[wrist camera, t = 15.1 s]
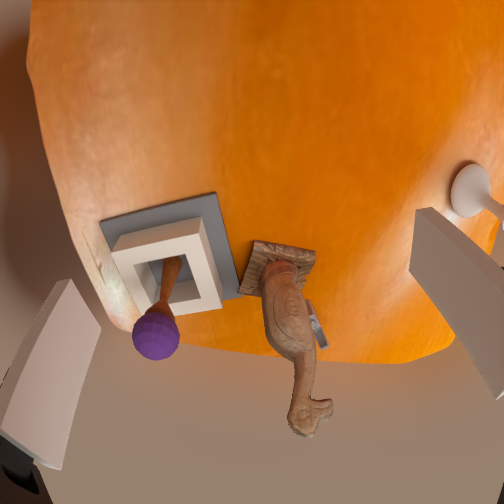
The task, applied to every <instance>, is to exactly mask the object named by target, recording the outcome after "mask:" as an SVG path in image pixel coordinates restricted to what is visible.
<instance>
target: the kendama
mask: <svg viewBox="0 0 504 504" xmlns="http://www.w3.org/2000/svg"><path fill="white" fill-rule="evenodd" d="M182 264H183V262H182V259H181V258H180V257H179V256H178V255H177V256H172V257H167V258H164V260H163V268H162V278H161V290H160V300H159V301H158V302H156V303H155V304H154V305H152V306H151V307H150V308H148V309H147V310H146V312H145V314H144V315H143V316H142V317H141V318H139V319H138V321H137V322H136V323H135V324H134V328H133V331H132V339H133V343H134V346H135V348H136V350H137V351H139V352H140V353H141V354H142V355H143V356H144V357H146V358H148V359H151V360H162V359H165V358H168V357H170V356H171V355H172V354H173V353H174V352H175V350H176V349H177V348H178V344H179V338H180V334H179V331H178V328H177V326H176V323H175V317H174V315H173V313H172V311H171V309H170V307H169V304H168V302H167V301H168V299H169V296H170V294H171V291H172V289H173V286H174V284H175V282H176V279H177V277H178V274H179V272H180V269H181V267H182Z"/></svg>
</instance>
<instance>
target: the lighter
mask: <svg viewBox="0 0 504 504" xmlns="http://www.w3.org/2000/svg"><path fill="white" fill-rule="evenodd" d="M305 303H306V306H307V310H308V314H309V318H310V322H311V326H312V329H313V332H314V335H315V337H316V340H317V342H318V345H319V347H320V349H322V350H323V349H325V348H327V347H329V344H328V341H327V339H326V336H325V334H324V331H323V329H322V328H321V327H320V323H319V320H318V317H317V314H316V311H315V310H314V308H313V306H312V304H311V303H310V301H309V300H306V301H305Z"/></svg>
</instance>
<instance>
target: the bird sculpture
mask: <svg viewBox="0 0 504 504" xmlns="http://www.w3.org/2000/svg"><path fill="white" fill-rule="evenodd" d="M315 256H316V254H315V252H314V251H310V250H309V251H308V250H307V249H302V248H296V247H292V246H287V245H282V244H276V243H271V242H265V241H259V240H254V247H253V251H252V255H251V257H250V261H249V264H248V267H247V268H246V271H245V274H244V278H243V280H244V281H242V283H241V285H242V286H240V288H239V290H238V292H237V294H243V295H250V296H257V297H261V298H262V309H263V318H264V326H265V334H266V337H267V340H268V342H269V344H270V345H271V346H272V347H273V348H274V349H275V350H276V351H277V352H278V353H279V354H281V355H282V356H283V357H285V358H287V359H288V360H290V361H292V362H293V363H294V369H295V376H294V378H295V382H294V388H293V394H292V400H291V405H290V409H289V412H288V415H287V420H288V423H289V426H290V428H291V429H292V430H293V431H294V433H296V434H297V435H299V436H301V437H303V438H307V439H309V438H313V436H314V434H315V430H316V429H317V428H318V427H319V426H320V425H321V424H322V423H324V422H326V421H327V420H328V419H330V417H331V416H332V412H333V403H332V399H323V400H314V399H311V392H312V388H313V383H314V377H315V371H316V343H315V337H314V333H313V329H312V326H311V322H310V318H309V314H308V310H307V306H306V303H305V300H304V297H303V295H302V292H301V290H302V288H303V286H304V283H305V282H306V279H305V278H304V277H305V276H304V275H306V274H307V275H306V276H308V274H309V272H310V271H311V269H312V266H313V265H314V263H315V260H316V257H315ZM267 258H268V259H270V261H269V262H268V259H267ZM277 258H278V260H277V261H276V259H277ZM288 259H289V260H290V262H289V261H288ZM292 261H293V262H292ZM307 265H308V266H307ZM253 267H254V268H253ZM256 267H257V268H260V270H259V269H256ZM264 267H265V268H264ZM297 267H298V270H297ZM300 269H301V270H300ZM257 271H258V272H257ZM256 272H257V273H256ZM261 274H262V275H261ZM299 274H300V276H299ZM259 275H260V276H259ZM300 277H302V279H304V280H303V281H301V280H302V279H300ZM258 278H259V280H260V281H259V280H257V279H258ZM298 278H299V279H298ZM298 282H299V283H298ZM301 282H303V283H301ZM256 283H257V285H256ZM300 283H301V284H302V287H301V284H300ZM243 284H244V285H243ZM254 284H255V285H254ZM244 286H245V287H244Z"/></svg>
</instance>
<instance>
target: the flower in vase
mask: <svg viewBox="0 0 504 504" xmlns="http://www.w3.org/2000/svg"><path fill="white" fill-rule="evenodd" d="M490 189H491V187H490V179H489V176H488V174H487V172H486V171H485V169H484V168H483V167H482V166H481V165H479V164H470V165H468V166H466V167H464V168H463V169H462V170H461V171H460V172H459V173H458V174H457V176H456V178H455V180H454V182H453V185H452V189H451V203H452V207H453V210H454V212H455V213H456V214H457V215H458V216H460V217H465V218H469V217H473V216H475V215H477V214H478V213H480V212H481V211H482V210H483V209H484V208H486V209H488V210H490V211H491V212H492V213H494V214H495V215H496V216H497V217H498V219H499V220H500V221H501V223H502V226H503V230H504V205H502V204H500V203H498V202H497V201H495V200H494V199H492V198H491V196H490Z"/></svg>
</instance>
